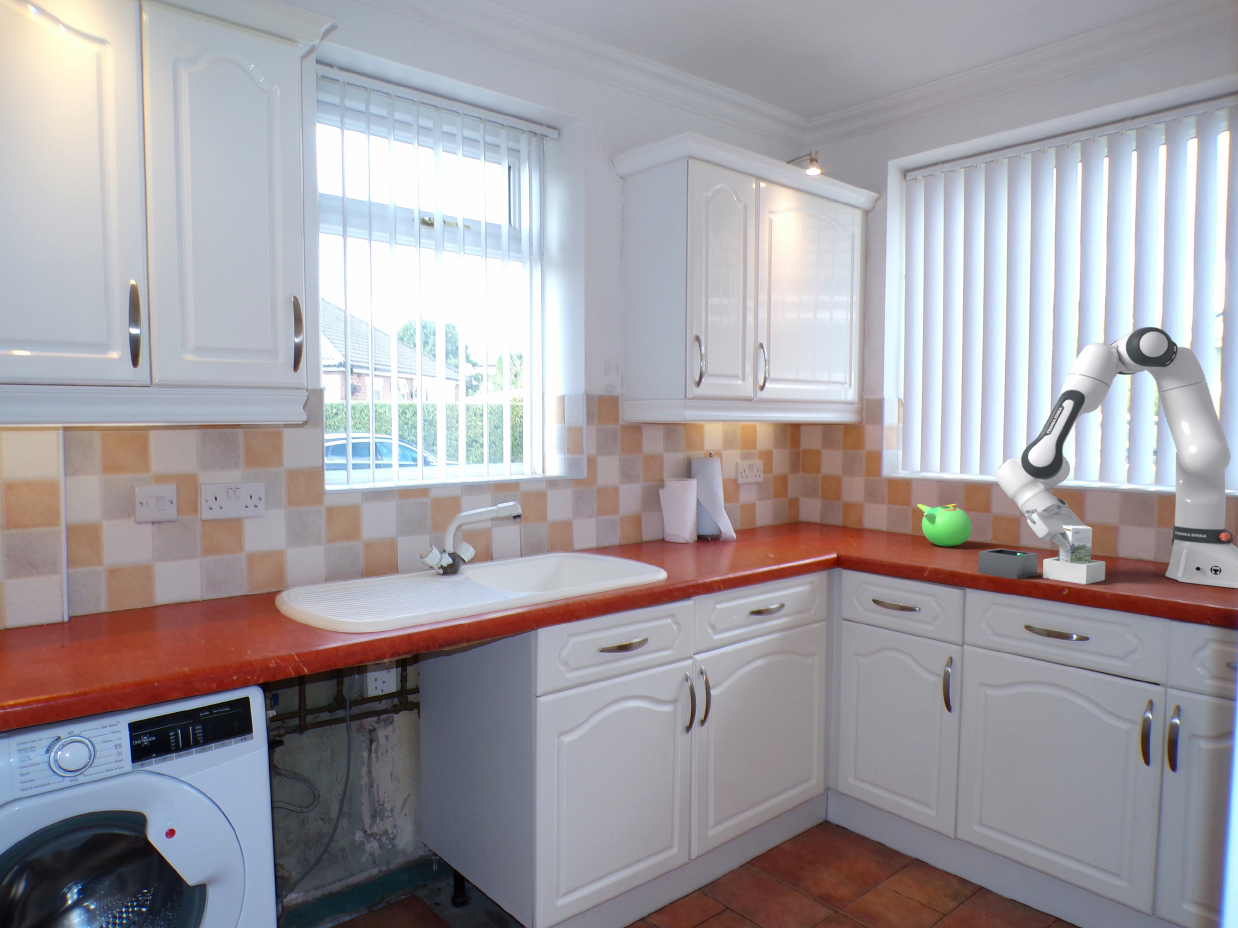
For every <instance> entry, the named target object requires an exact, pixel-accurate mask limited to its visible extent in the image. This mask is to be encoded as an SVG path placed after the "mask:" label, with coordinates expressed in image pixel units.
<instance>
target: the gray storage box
mask: <svg viewBox="0 0 1238 928" xmlns="http://www.w3.org/2000/svg"><path fill="white" fill-rule="evenodd" d="M1038 556H1039V555H1038V552H1036V553H1035V552H1031V551H1030V552H1029V551H1024V550H1023V551H1021V550H1014V549H1007V548H993V549H986V550H981V551H978V563H977V564H978V565H977V567H978V568H977V573H978V574H983V575H989V576H990V575H991V576H996V577H1000V578H1001V577H1002V578H1008V579H1014V580H1019V579H1025V578H1027V577H1028V576H1029V577H1034V576H1037V575H1038V559H1039V558H1038ZM1033 575H1034V576H1033Z"/></svg>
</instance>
